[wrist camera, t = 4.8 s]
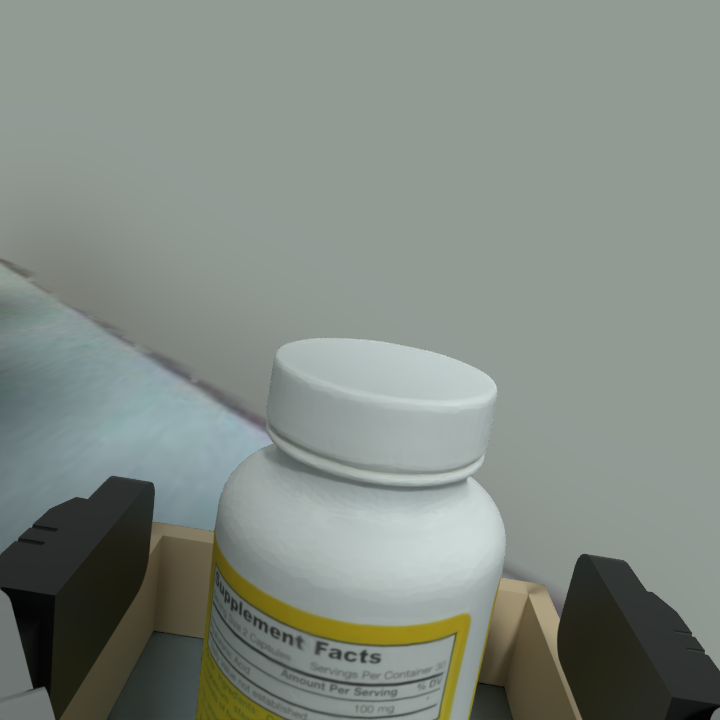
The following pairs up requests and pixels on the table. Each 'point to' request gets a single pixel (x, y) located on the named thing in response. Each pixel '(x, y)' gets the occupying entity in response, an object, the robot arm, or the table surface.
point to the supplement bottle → (356, 543)
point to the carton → (188, 616)
